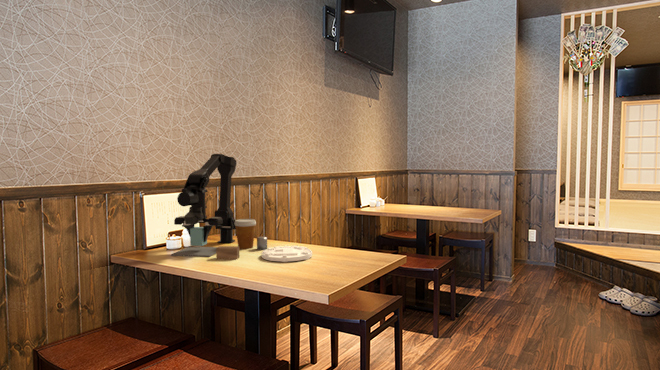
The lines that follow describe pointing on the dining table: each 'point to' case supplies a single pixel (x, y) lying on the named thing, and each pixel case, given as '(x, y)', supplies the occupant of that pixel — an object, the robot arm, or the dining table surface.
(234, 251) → the walnut block
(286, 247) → the white round plaque
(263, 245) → the metal canister
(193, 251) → the slate mat
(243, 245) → the disposable coffee cup
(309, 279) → the dining table surface
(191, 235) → the teal block
